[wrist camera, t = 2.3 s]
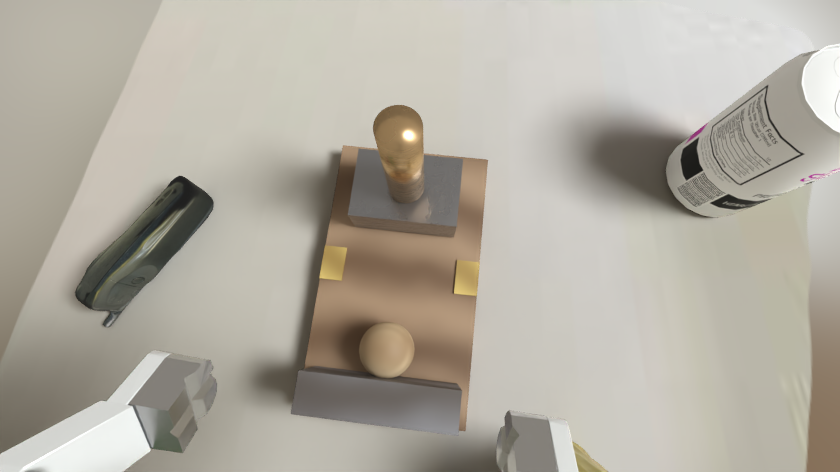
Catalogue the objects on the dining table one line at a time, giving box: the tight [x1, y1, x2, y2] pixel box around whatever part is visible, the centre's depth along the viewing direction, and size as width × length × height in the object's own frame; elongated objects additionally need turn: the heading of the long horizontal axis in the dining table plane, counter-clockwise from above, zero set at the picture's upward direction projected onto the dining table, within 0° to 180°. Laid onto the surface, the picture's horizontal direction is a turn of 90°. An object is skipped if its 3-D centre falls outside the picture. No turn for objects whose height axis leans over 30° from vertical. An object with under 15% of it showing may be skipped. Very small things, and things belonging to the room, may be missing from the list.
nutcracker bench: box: [291, 145, 488, 436], centre depth 35 cm, size 24×14×7 cm, turn 173°
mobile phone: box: [75, 176, 213, 327], centre depth 38 cm, size 5×3×15 cm
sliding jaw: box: [348, 105, 463, 237], centre depth 32 cm, size 6×9×14 cm, turn 83°
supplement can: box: [666, 44, 840, 218], centre depth 33 cm, size 8×8×15 cm
